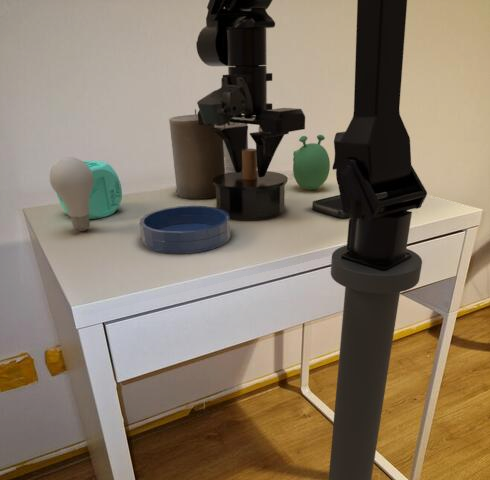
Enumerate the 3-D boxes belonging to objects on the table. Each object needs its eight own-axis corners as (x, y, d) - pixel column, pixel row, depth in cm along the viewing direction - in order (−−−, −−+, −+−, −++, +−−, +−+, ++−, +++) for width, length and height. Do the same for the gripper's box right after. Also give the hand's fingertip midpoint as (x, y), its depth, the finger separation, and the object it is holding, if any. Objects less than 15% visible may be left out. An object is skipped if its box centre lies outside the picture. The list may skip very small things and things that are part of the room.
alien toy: (311, 182, 96) (313, 130, 91) (335, 189, 90) (339, 134, 85) (283, 187, 93) (283, 134, 88) (307, 195, 87) (309, 138, 82)
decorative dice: (85, 222, 77) (74, 172, 73) (60, 214, 81) (49, 166, 77) (125, 211, 82) (118, 164, 78) (100, 204, 86) (92, 158, 82)
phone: (309, 201, 79) (370, 187, 86) (309, 208, 79) (369, 193, 87) (343, 212, 73) (405, 195, 81) (342, 219, 74) (404, 202, 81)
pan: (248, 236, 68) (247, 216, 67) (177, 261, 61) (175, 239, 59) (194, 219, 76) (192, 201, 75) (126, 239, 69) (122, 219, 67)
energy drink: (251, 176, 103) (250, 117, 97) (243, 181, 98) (242, 120, 92) (229, 175, 104) (226, 116, 98) (220, 180, 100) (217, 119, 94)
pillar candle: (235, 193, 90) (232, 108, 82) (191, 202, 85) (183, 113, 78) (210, 184, 97) (204, 105, 89) (167, 192, 92) (158, 109, 85)
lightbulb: (64, 239, 69) (46, 163, 64) (60, 228, 74) (43, 156, 69) (105, 233, 71) (91, 158, 66) (99, 222, 76) (86, 152, 71)
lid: (302, 184, 77) (303, 148, 74) (249, 199, 70) (248, 160, 67) (250, 173, 85) (250, 141, 82) (197, 186, 78) (195, 151, 75)
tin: (297, 209, 79) (298, 180, 77) (249, 225, 73) (249, 193, 70) (251, 198, 87) (250, 171, 84) (203, 211, 80) (201, 182, 78)
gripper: (166, 68, 70) (176, 175, 78) (252, 67, 58) (254, 193, 66) (221, 66, 77) (226, 164, 85) (309, 64, 65) (305, 179, 73)
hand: (249, 174), depth 77 cm, fingers open, 5 cm apart
